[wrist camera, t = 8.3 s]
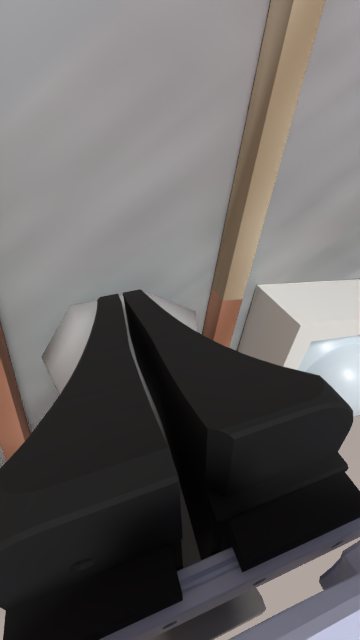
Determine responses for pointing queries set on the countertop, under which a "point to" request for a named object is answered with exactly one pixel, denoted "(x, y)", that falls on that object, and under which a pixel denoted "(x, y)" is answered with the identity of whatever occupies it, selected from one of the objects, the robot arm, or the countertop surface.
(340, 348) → the dome
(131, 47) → the countertop surface
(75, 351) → the flask
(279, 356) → the dome housing
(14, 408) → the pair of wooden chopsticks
